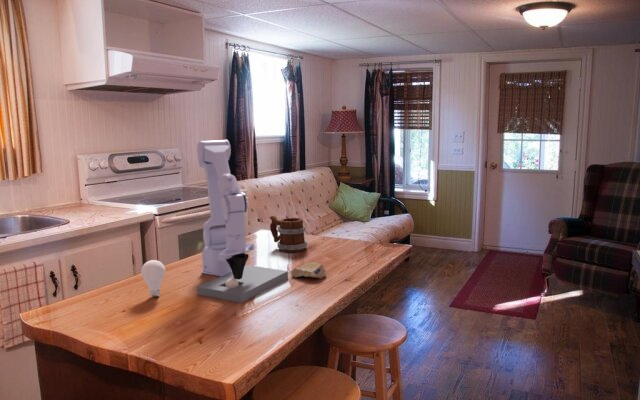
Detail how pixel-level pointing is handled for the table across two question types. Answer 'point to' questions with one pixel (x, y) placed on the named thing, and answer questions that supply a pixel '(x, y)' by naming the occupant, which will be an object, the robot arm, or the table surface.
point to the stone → (309, 270)
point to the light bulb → (153, 276)
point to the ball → (232, 283)
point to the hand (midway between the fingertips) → (238, 278)
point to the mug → (289, 234)
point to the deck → (243, 284)
